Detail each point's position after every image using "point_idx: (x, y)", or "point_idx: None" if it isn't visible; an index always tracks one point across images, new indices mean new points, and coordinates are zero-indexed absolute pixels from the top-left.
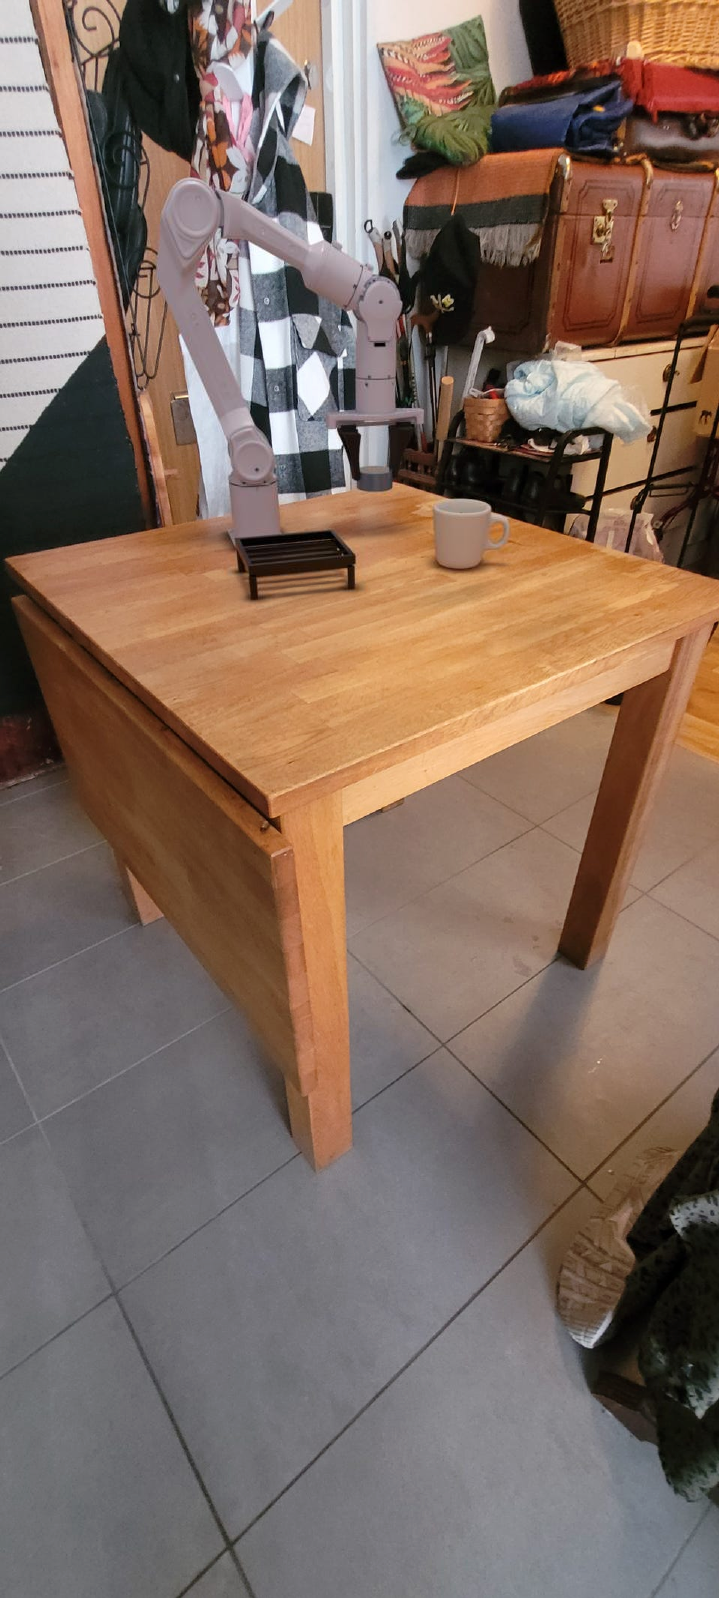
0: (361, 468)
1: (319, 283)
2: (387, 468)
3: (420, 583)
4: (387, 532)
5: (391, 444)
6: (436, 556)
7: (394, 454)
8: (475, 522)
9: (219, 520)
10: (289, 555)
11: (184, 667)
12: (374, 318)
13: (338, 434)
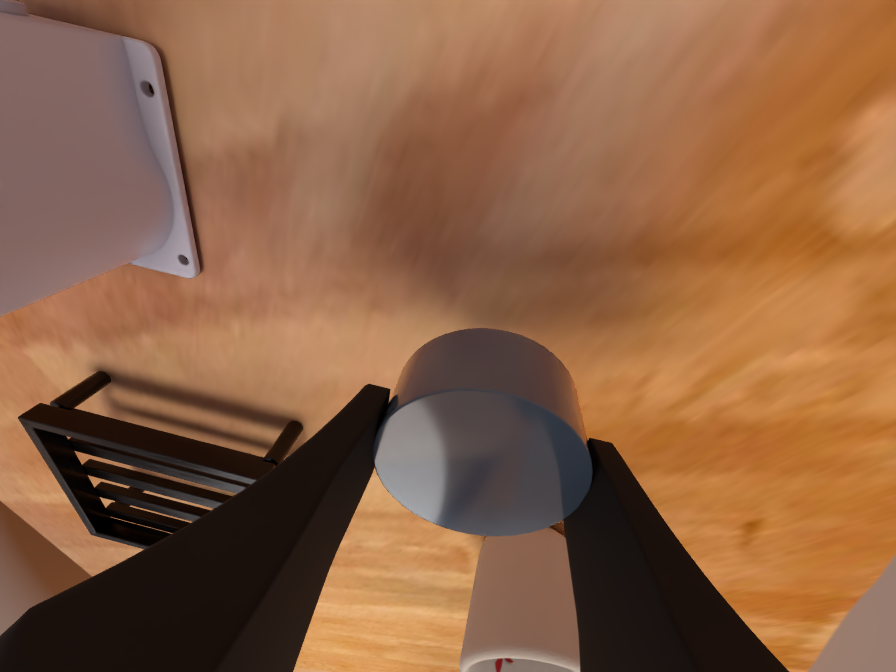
0: (419, 419)
1: None
2: (560, 490)
3: (411, 554)
4: (538, 316)
5: (640, 648)
6: (481, 547)
7: (594, 608)
8: None
9: None
10: (170, 492)
11: (96, 555)
12: None
13: (64, 594)
